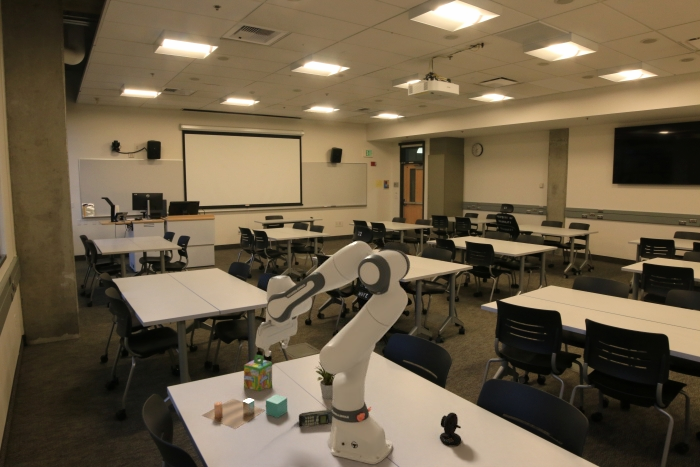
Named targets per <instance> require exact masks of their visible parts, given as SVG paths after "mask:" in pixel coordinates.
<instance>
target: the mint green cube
mask: <svg viewBox="0 0 700 467" xmlns="http://www.w3.org/2000/svg"><path fill="white" fill-rule="evenodd" d="M287 412H288V397H286V396H282V395H280V394H276V393H275V394H274V395H273V396H271V397H269V398H267V399H266V400H265V413H266V415H268V416H272V417H274V418H276V419H278V418H280V417H281V416H283V415H284V414H286V413H287Z"/></svg>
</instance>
